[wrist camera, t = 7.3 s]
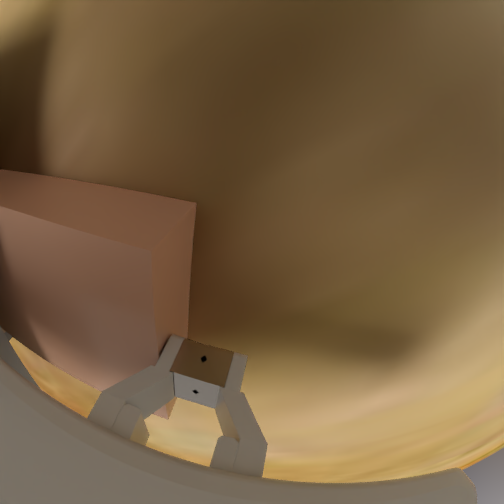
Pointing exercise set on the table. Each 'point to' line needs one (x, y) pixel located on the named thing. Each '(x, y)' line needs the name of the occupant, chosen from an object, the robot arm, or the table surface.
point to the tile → (93, 274)
